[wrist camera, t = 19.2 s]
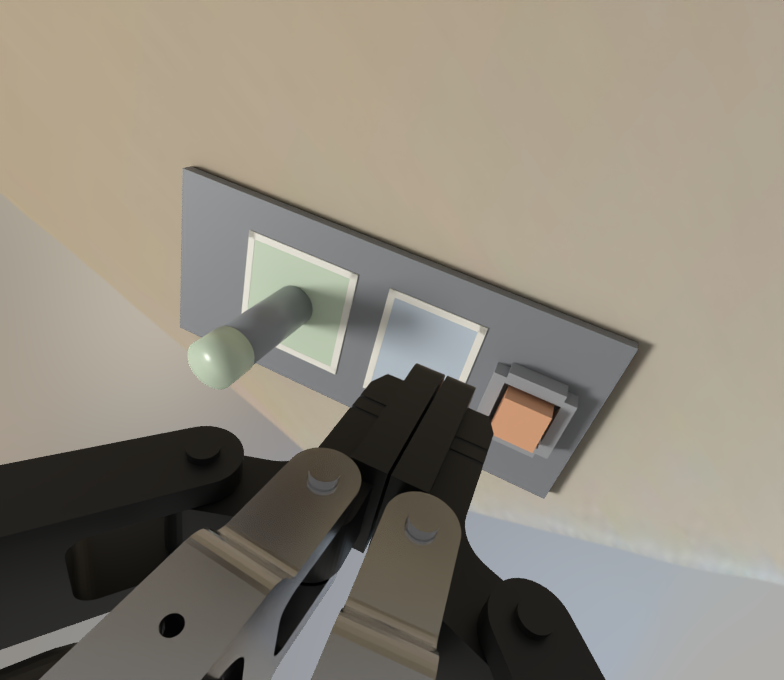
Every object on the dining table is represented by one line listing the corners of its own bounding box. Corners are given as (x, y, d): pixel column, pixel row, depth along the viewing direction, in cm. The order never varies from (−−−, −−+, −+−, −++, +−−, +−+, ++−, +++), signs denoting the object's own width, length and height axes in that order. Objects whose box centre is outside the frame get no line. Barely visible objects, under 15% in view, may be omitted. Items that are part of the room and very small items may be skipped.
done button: (555, 400, 38) (552, 418, 36) (536, 434, 40) (532, 453, 38) (510, 381, 38) (504, 397, 36) (493, 415, 40) (487, 432, 38)
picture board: (637, 342, 35) (639, 360, 33) (545, 490, 44) (541, 512, 41) (191, 166, 42) (168, 171, 40) (187, 323, 51) (168, 334, 49)
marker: (316, 294, 42) (235, 354, 33) (309, 331, 44) (231, 397, 35) (277, 277, 43) (188, 331, 34) (273, 314, 45) (187, 375, 36)
